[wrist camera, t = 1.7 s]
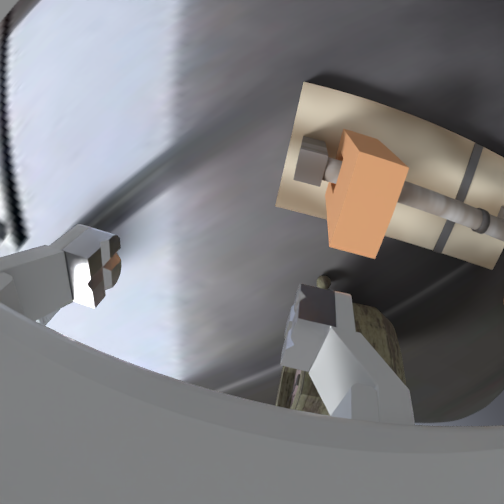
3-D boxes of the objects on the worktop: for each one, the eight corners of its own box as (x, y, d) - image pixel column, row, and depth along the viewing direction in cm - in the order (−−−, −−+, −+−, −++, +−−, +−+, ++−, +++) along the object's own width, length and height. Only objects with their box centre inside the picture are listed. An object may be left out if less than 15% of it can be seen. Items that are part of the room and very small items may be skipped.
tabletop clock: (312, 260, 35) (293, 494, 14) (388, 277, 34) (430, 496, 13) (284, 348, 42) (251, 528, 21) (346, 361, 42) (343, 536, 20)
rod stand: (304, 82, 26) (301, 80, 19) (524, 169, 25) (565, 196, 18) (277, 198, 32) (266, 234, 25) (485, 261, 31) (514, 301, 24)
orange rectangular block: (325, 194, 27) (329, 246, 19) (343, 128, 24) (359, 151, 16) (357, 204, 27) (374, 259, 19) (377, 139, 24) (409, 167, 16)
